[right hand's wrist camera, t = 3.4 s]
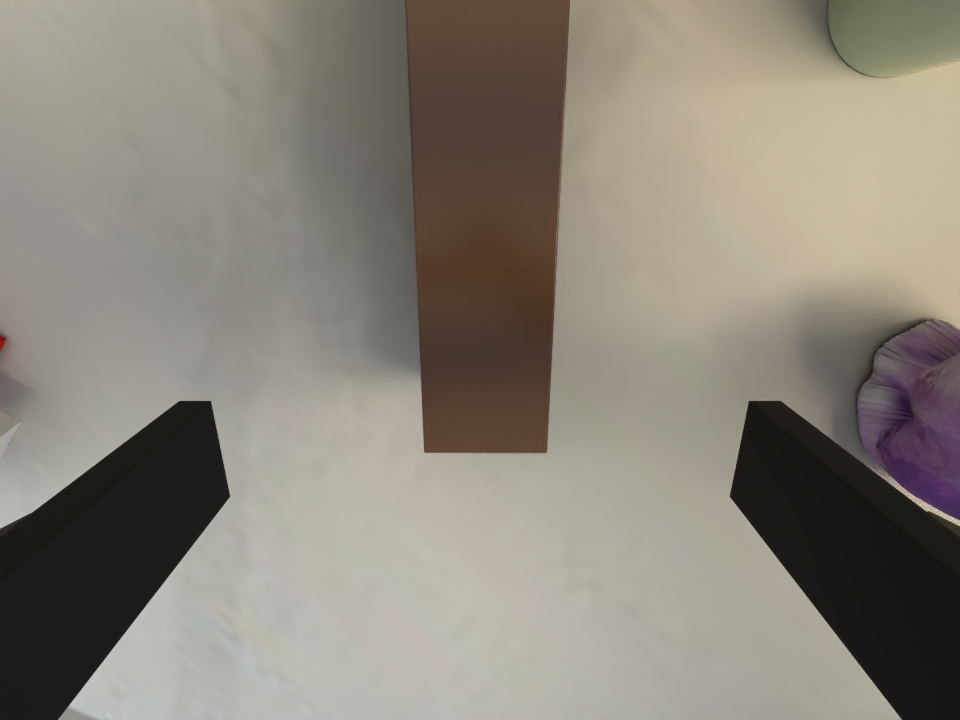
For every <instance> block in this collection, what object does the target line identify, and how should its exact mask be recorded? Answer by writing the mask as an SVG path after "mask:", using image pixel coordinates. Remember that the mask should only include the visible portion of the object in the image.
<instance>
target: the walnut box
mask: <svg viewBox="0 0 960 720" xmlns="http://www.w3.org/2000/svg"><path fill="white" fill-rule="evenodd" d="M405 10H406V33H407V57H408V81H409V104H410V128H411V152H412V175H413V199H414V223H415V246H416V270H417V294H418V317H419V341H420V365H421V388H422V412H423V435H424V452H425V453H547V442H548V422H549V403H550V383H551V363H552V344H553V324H554V304H555V285H556V265H557V245H558V226H559V206H560V186H561V167H562V147H563V128H564V108H565V88H566V69H567V49H568V29H569V10H570V0H405Z"/></svg>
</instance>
